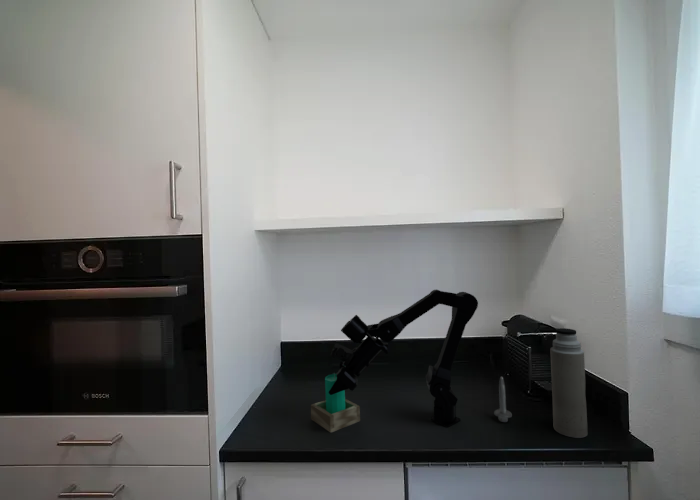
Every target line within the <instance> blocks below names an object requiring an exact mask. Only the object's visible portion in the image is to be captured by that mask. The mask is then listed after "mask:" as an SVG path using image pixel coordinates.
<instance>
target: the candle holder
mask: <svg viewBox="0 0 700 500" xmlns="http://www.w3.org/2000/svg"><path fill="white" fill-rule="evenodd" d="M360 411H361V407H360V405H358V404H357V403H354V402H352V401H351V400H349V399H346V398H345V409H344V410H342V411H339V412H336V413H333V414H330V413H329V412H327V411H326V399H324V400H322V401H319V402H315V403H312V404H310V420H311V421H313V422H314V423H316V424H317V425H319V426H320V427H322V428H323V429H325V430H326V431H328V432H329V433H334V432H336V431H339V430H341V429H343V428H347V427H349V426H351V425H355V424H357V423H358V422H361V412H360Z"/></svg>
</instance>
